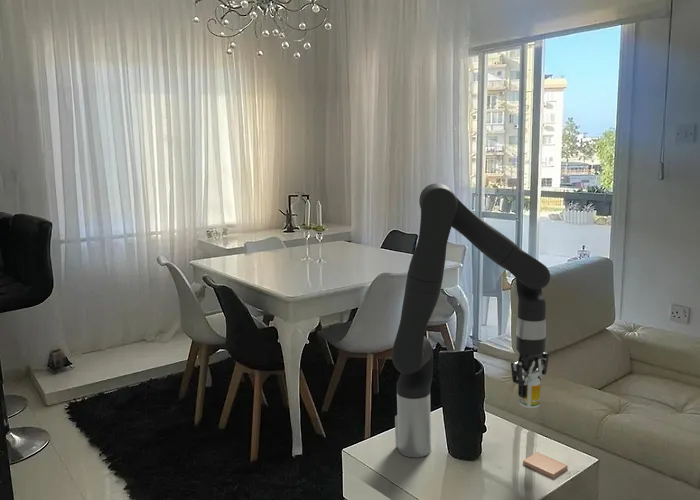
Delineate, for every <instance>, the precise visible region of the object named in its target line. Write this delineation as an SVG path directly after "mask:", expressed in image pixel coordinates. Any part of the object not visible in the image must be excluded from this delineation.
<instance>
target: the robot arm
mask: <svg viewBox="0 0 700 500" xmlns="http://www.w3.org/2000/svg"><path fill="white" fill-rule="evenodd" d="M418 201H419V202H418V203H419V207H420V226H419V233H418V239H417V244H416V246H415V248H414V251H413V254H412V256H411V259H410V263H409V266H408V269H407V270H408V271H407V276H406V281H405V285H404V287H405V288H404V296H403V301H402V307H401V315H400V322H399V325H398V328H397V333H396V336H395V340H394V342H393V346H392V350H391V361H392V363H393V366H394V369H396V370H397V371H398V372H399V373H400V375H399V378H398V379H397V382H396V403H397V404H396V407H397V408H396V411H397V412H396V413H397V414H396V415H395V416H394V429H395V430H394V432H395V433H394V434H395V436H394V437H395V447H396V448H397V449H398V450H397V451H398V452H399V453H400V454H401V455H402V456H405V457H409V458H422V457H425V456H428V455H429V454H430V453H431V452H432V442H431V441H432V440H431V439H432V431H431V428H432V427H431V426H432V425H431V423H432V422H431V421H432V420H431V385H432V381H433V374H434V373H433V370H434V351H433V347H432V343H431V342H430V340H429V339H428V338H427V337H426V336H425V335H426V330H427V327H428V324H429V321H430V320H431V317H432V315H433V312H435V311H434V310H435V309H436V306H437V303H438V301H439V298H440V294H441V289H442V284H443V279H444V272H445V265H446V254H447V245H448V240H449V237H450V233H451V230H452V228H453V230H456V231H457V232H458V233H459V234H460V235H462V236H463V237H465V239H467V241H469V243H471V244H472V245H473V246H474V247H475V248H476V249H478V250H479V252H480V253H482V254H483V255H485V256H486V257H487V258H488V259H490V260H491V261H492V262H493V263H495V264H496V265H498V266H499V267H501V268H502V269H504V270H506V271H508V273H510V274H512V276H513V277H515V285H516V293H517V299H518V301H517V302H518V304H517V321H516V331H515V332H516V336H515V337H516V338H515V349H516V351H517V353H519V355H518V360H517V361H516V362H514V361H512V362H511V363H510V369H511V379H512V383H515V384H517V386H518V388H517V394H518V395H517V396H520V397H522V398H526V397H527V382H528V378H529V377H531V373H532V371H533V370H537V371H538V378H539V379H540V381H542V378H543V375H547V370H548V364H549V357H550V354H549V353H548V352H546V345H547V343H546V341H547V339H546V338H547V322H546V314H547V313H546V309H547V305H546V304H547V303H546V300H545V297H544V295H543V291H542V289H544V288H546V287H547V286H548V285H549V283H550V280H551V273H550V270H549V268H548V267H547V265H545V264H543V263H542V262H540V261H539V260H538V259H536V258H535V257H533V256H532V255H530V254H529V253H528V252H526V251H525V250H523V249H522V248H520V246H518V244H517V243H515V242H514V241H512V240H511V239H510V238H509V237H508V236H506V235H504V233H502V232H500V231H499V230H497V229H496V228H495V227H494V226H492V225H490V224H489V223H488V222H486V221H484V220H483V219H481V218H480V217H479V216H477V215H476V213H474V212H473V211H472V210H470V209H469V207H467V205H465V204H464V203H462V201H461V200H460V199H459V197H457V196H456V195H455V193H454V191H453V190H452V189H451V188H450V186H448V185H445V184H443V183H440V182H439V183H437V182H436V183H431V184H428V185H427V186H426V187H424V188H423V189H422V191H421V192H420V195H419V200H418ZM523 371H526V372H527V373H524V372H523ZM523 375H524V376H525V377H524V380H523ZM540 388H541V386H540Z"/></svg>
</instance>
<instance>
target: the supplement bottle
mask: <svg viewBox="0 0 700 500" xmlns="http://www.w3.org/2000/svg"><path fill="white" fill-rule="evenodd" d="M522 372H524V373H527V372H526V371H523V370H522ZM524 377H525V376H524V375H523V380H524ZM541 381H542V380H541ZM541 381H540V379H539V378H538V371H537V370H533V371H532V373H531V377H529V378H528V382H527V397H526V398H522V397H520V396H519V395H518V396H519V397H518V399H519V400H518V402H519V405H520V406H521V407H524V408H527V409H535V408H539V406H540V404H541V387H540V386H541V383H542V382H541Z"/></svg>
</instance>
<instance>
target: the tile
mask: <svg viewBox="0 0 700 500" xmlns="http://www.w3.org/2000/svg"><path fill="white" fill-rule="evenodd" d="M522 464H523V465H524V466H526V467H528V468H531V469H532V470H535V471H537V472H539V473H542V474H544V475H545V476H548V477H550V478H552V479H554V478H556V477H558V476H559V475H560V474H562V473H563V472H565V471H567V470H568V464H566V463H563V462H561V461H559V460H557V459H554V458H552V457H549V456H548V455H546V454H544V453H540V452H538V451H537V452H535V453H533V454H531V455H530V456H528V457H526V458H525V459H523V460H522Z"/></svg>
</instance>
